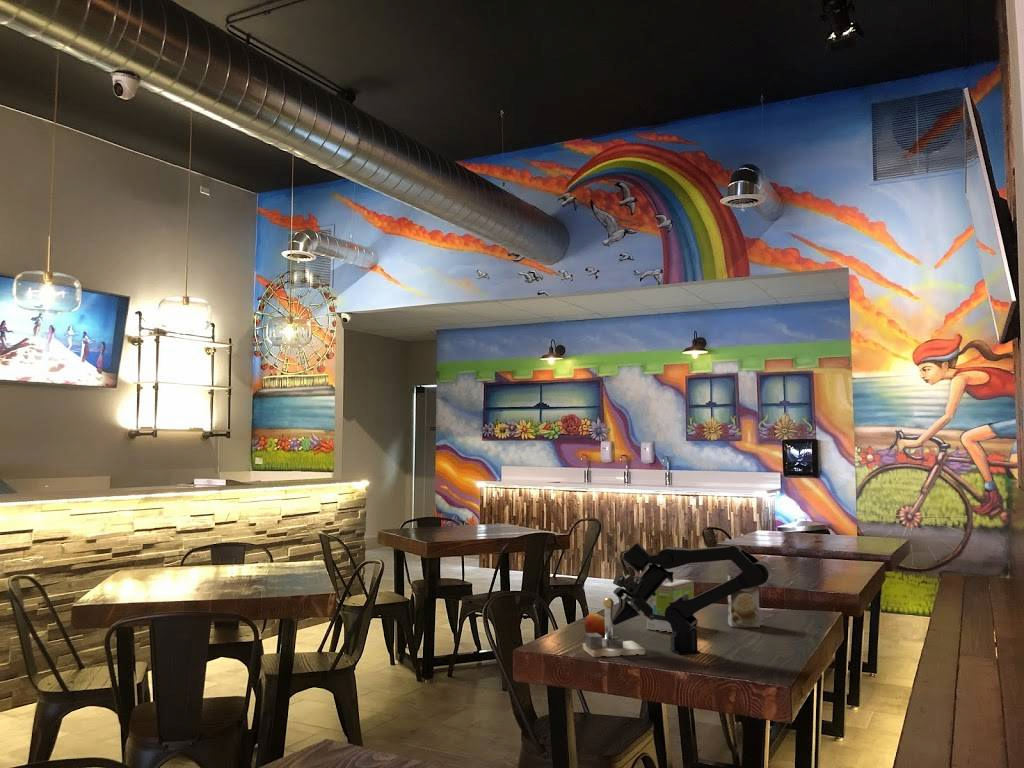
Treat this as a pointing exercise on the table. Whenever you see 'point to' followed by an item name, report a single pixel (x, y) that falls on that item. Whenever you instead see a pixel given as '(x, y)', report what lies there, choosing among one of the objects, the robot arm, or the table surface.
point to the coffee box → (743, 607)
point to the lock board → (610, 646)
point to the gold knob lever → (608, 621)
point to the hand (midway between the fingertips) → (613, 623)
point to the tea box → (667, 602)
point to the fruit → (595, 624)
